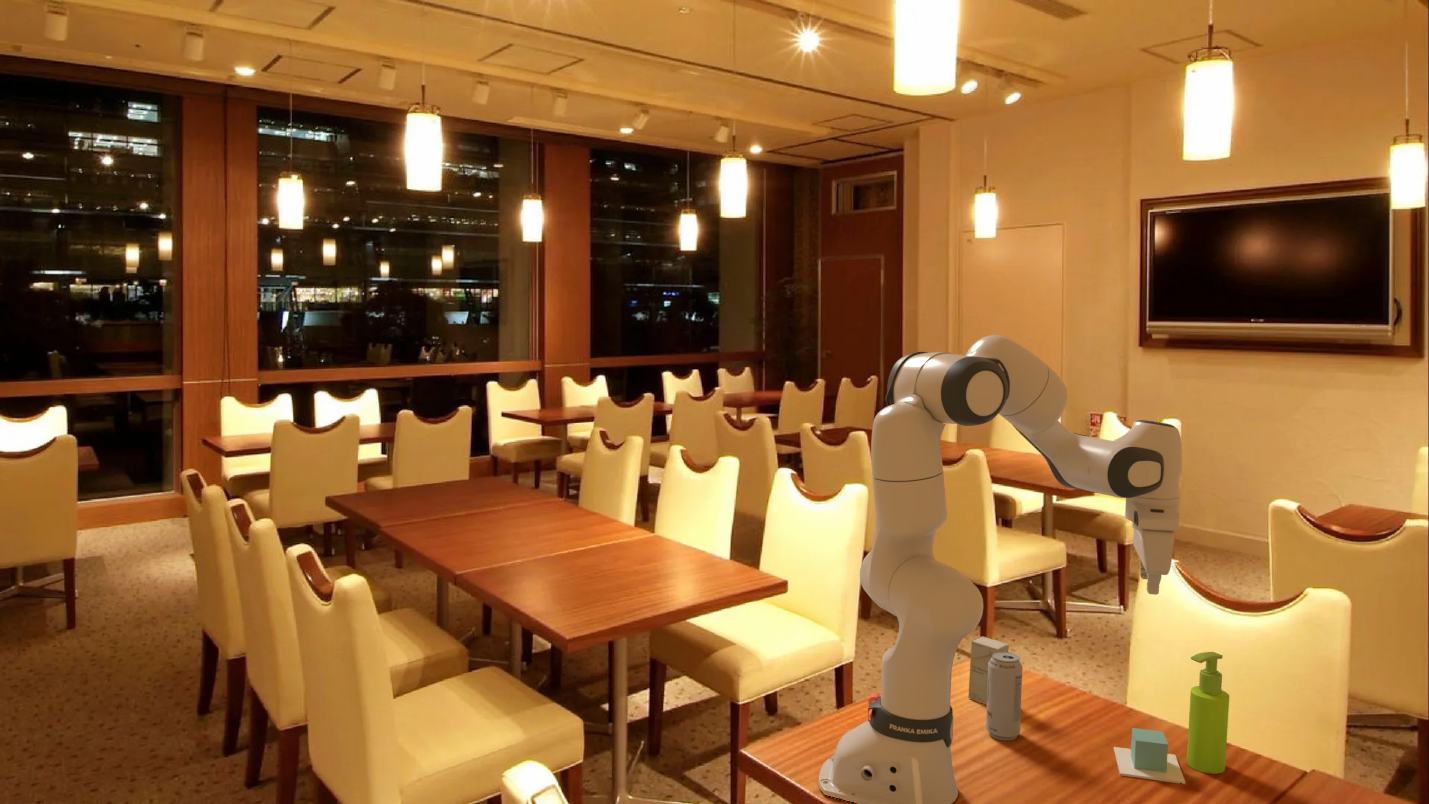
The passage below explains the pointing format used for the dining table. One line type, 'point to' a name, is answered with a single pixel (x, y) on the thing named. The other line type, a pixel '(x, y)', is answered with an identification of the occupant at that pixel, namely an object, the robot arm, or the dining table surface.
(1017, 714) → the energy drink can
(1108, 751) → the dining table surface
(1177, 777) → the coaster
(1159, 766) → the block
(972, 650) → the skincare box
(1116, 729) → the dining table surface
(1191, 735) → the soap dispenser
